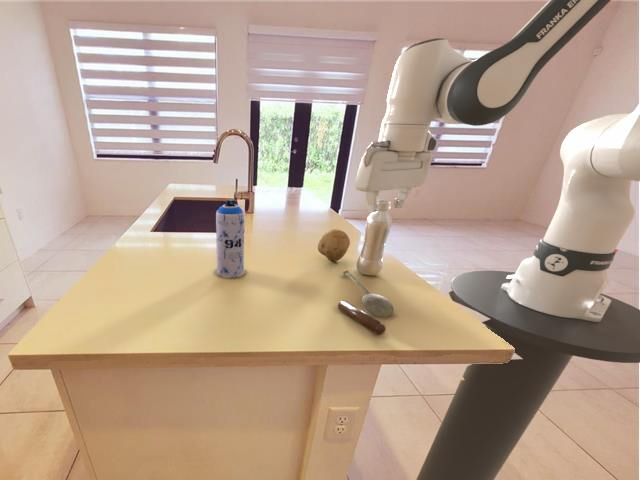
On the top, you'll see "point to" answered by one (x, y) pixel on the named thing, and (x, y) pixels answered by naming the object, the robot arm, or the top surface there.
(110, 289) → the top surface
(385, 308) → the soupspoon
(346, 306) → the walnut dowel
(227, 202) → the aerosol can
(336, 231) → the potato
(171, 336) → the top surface
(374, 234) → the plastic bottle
